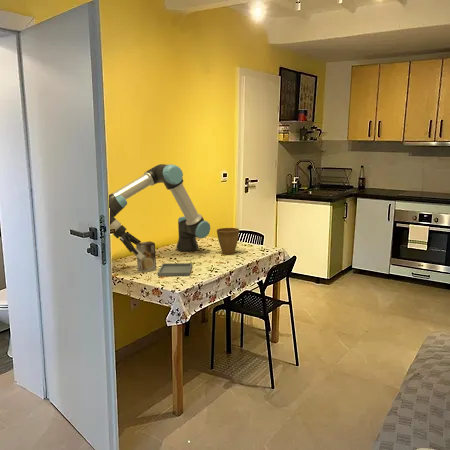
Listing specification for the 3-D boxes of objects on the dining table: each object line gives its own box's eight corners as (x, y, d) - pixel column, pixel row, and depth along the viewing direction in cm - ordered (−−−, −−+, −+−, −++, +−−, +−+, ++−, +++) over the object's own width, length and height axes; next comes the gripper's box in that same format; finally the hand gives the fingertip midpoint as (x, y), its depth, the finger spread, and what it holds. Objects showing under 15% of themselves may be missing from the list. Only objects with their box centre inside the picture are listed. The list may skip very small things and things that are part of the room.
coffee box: (151, 267, 266) (150, 240, 263) (156, 269, 261) (155, 242, 258) (137, 270, 261) (135, 243, 258) (142, 272, 256) (140, 245, 253)
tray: (162, 266, 268) (162, 263, 267) (192, 266, 267) (192, 263, 267) (157, 276, 248) (157, 272, 248) (189, 276, 248) (189, 272, 248)
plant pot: (240, 250, 305) (240, 227, 303) (238, 256, 291) (238, 231, 288) (218, 250, 307) (217, 227, 304) (215, 255, 292) (215, 231, 290)
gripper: (118, 229, 269) (144, 254, 272) (106, 238, 245) (135, 265, 247) (126, 220, 268) (152, 245, 271) (116, 228, 244) (145, 255, 246)
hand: (144, 254), depth 259 cm, fingers open, 13 cm apart
